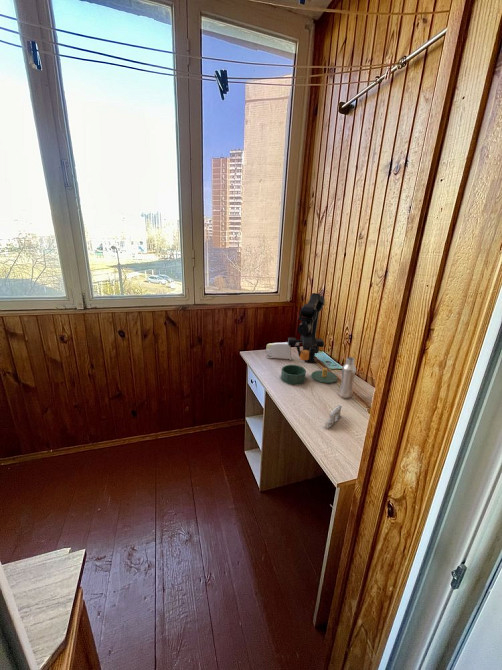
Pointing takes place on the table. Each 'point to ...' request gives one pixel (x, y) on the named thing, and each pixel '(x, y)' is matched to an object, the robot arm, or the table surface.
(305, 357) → the candle
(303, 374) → the tin
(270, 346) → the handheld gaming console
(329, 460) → the table surface
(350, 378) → the silver metal bottle
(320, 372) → the tin lid
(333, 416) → the grey stone
